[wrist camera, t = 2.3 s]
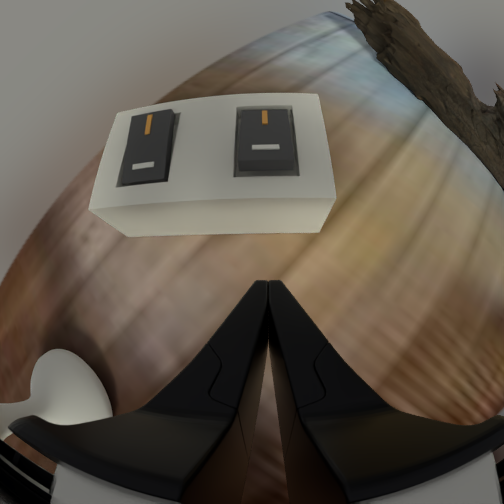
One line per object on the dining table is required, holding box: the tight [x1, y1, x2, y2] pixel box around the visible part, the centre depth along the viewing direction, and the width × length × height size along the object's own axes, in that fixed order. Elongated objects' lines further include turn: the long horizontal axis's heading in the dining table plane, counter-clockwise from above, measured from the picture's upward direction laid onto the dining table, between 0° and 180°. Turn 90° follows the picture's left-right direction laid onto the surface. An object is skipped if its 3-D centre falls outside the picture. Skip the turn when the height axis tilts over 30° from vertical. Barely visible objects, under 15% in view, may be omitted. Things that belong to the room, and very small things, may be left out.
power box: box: [88, 93, 336, 237], centre depth 23 cm, size 15×18×7 cm
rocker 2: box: [238, 109, 294, 171], centre depth 18 cm, size 6×4×1 cm, turn 0°
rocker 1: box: [122, 109, 175, 186], centre depth 19 cm, size 6×4×1 cm, turn 0°
